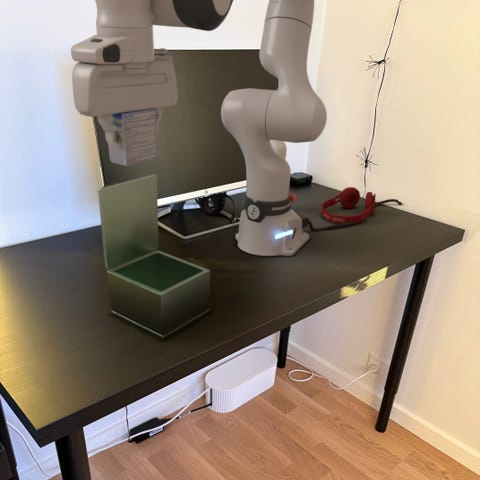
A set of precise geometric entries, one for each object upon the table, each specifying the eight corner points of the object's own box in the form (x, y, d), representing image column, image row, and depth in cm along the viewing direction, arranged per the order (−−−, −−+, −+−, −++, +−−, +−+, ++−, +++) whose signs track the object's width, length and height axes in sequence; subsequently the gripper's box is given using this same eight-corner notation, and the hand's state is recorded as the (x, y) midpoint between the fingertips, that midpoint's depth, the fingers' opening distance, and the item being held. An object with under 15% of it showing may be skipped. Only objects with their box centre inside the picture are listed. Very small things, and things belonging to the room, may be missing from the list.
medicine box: (141, 154, 91) (138, 105, 87) (158, 158, 89) (156, 108, 85) (109, 162, 86) (103, 109, 81) (127, 166, 84) (122, 113, 79)
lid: (157, 175, 95) (138, 169, 97) (100, 189, 85) (81, 182, 88) (158, 248, 103) (141, 241, 106) (107, 269, 94) (89, 260, 96)
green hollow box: (210, 312, 102) (210, 270, 96) (163, 340, 92) (161, 295, 87) (159, 290, 109) (157, 250, 104) (111, 314, 99) (106, 271, 94)
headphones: (345, 201, 169) (312, 222, 157) (346, 181, 164) (313, 202, 153) (383, 212, 160) (352, 235, 149) (386, 191, 156) (354, 214, 145)
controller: (219, 219, 149) (220, 187, 144) (190, 210, 156) (189, 179, 150) (228, 216, 152) (229, 184, 147) (198, 207, 159) (198, 176, 153)
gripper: (158, 46, 87) (162, 128, 94) (61, 48, 73) (74, 143, 80) (184, 49, 84) (186, 133, 91) (87, 51, 70) (98, 150, 77)
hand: (133, 138), depth 85 cm, fingers closed on medicine box, 8 cm apart
